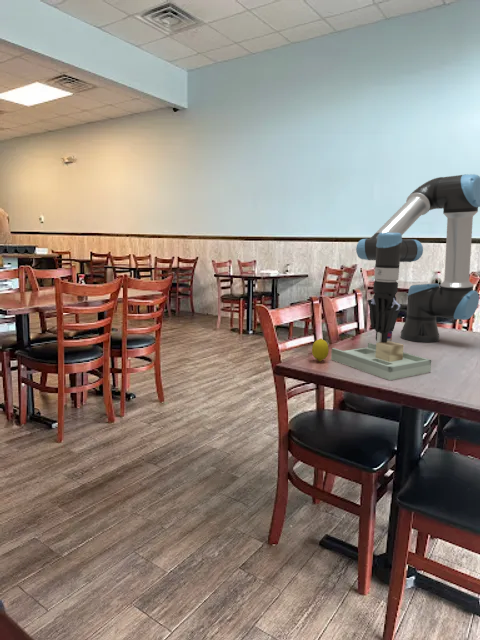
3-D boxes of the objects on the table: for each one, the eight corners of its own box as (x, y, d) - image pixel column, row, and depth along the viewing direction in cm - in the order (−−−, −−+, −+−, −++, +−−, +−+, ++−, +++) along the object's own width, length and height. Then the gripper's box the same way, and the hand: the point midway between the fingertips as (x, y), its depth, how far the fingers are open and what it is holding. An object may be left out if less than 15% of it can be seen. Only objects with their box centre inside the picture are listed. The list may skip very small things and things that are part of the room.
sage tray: (369, 353, 163) (370, 342, 162) (430, 372, 141) (431, 359, 140) (331, 359, 154) (331, 348, 154) (389, 380, 132) (390, 367, 131)
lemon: (322, 358, 155) (323, 336, 154) (331, 362, 150) (332, 339, 149) (308, 360, 153) (309, 337, 152) (316, 364, 148) (317, 340, 147)
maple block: (388, 355, 151) (389, 340, 150) (402, 359, 146) (403, 344, 145) (375, 357, 148) (376, 342, 147) (389, 361, 143) (390, 346, 142)
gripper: (363, 279, 149) (358, 348, 154) (393, 283, 138) (387, 357, 142) (379, 278, 153) (374, 345, 157) (410, 282, 142) (403, 354, 146)
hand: (380, 351), depth 150 cm, fingers closed
